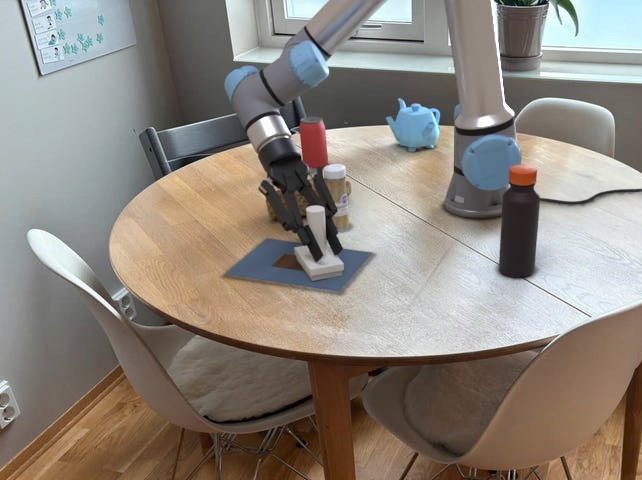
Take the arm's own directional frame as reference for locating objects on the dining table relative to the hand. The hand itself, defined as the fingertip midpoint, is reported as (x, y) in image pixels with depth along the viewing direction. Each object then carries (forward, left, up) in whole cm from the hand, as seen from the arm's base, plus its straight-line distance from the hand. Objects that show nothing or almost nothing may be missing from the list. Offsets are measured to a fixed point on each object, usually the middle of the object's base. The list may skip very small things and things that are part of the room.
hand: (329, 255), depth 136 cm
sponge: (+18, -28, -5) cm, 34 cm away
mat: (+8, -2, -4) cm, 9 cm away
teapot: (+10, -78, -5) cm, 79 cm away
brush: (+3, -2, -4) cm, 5 cm away
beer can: (+30, -56, -5) cm, 64 cm away
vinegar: (-33, -12, -5) cm, 36 cm away
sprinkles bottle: (+8, -21, -5) cm, 23 cm away
